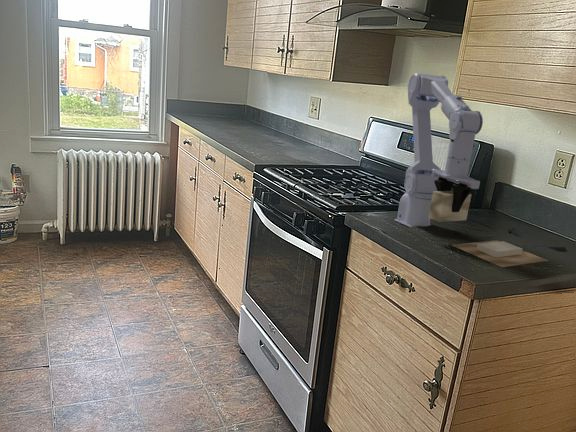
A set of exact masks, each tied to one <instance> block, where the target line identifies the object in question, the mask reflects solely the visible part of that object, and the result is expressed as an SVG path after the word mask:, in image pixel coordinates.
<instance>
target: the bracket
mask: <svg viewBox="0 0 576 432" xmlns="http://www.w3.org/2000/svg"><path fill="white" fill-rule="evenodd" d="M506 233H507V234H510V235H514V236H516V237H519V238H521V239H523V240H526V241H529V242H531V240H530V239H529V238H527V237H525V236H524V235H522V234H521V233H520V232H519V231H518V230H517V229H516V228H509V229H507V232H506ZM536 244H537V245H539V246H537V245H535V246H534V245H531V246H529V245H522V247H523V248H548V249H551V250H554V251H556V252H567V247H566V246H562V245H561V246H560V245H559V246H558V245H556V246H554V245H553V246H551V245H545V244H541V243H537V242H536Z"/></svg>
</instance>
